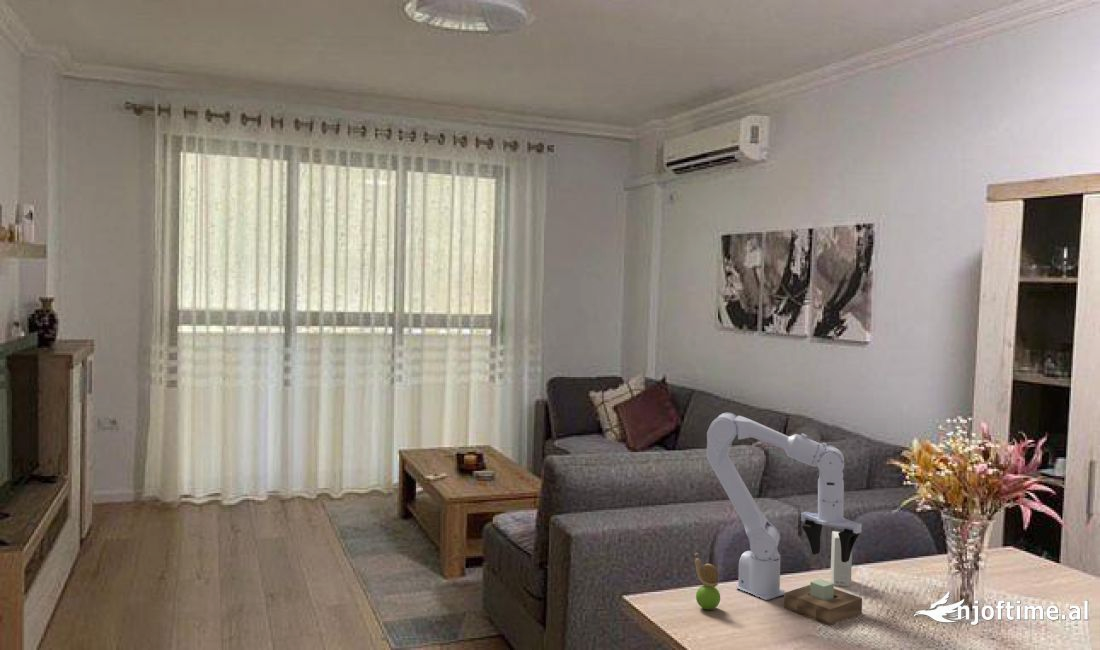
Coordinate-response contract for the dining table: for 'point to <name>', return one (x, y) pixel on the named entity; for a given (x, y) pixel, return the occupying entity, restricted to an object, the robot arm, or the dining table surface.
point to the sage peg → (822, 589)
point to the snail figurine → (707, 585)
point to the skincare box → (839, 563)
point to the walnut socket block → (823, 605)
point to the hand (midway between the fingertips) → (830, 557)
